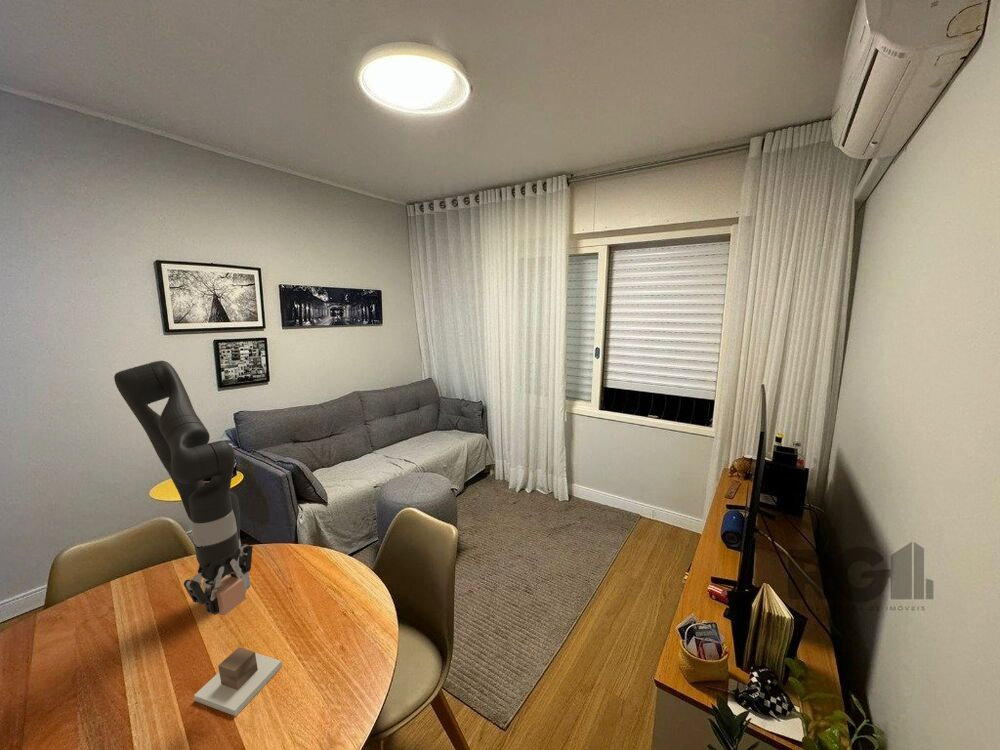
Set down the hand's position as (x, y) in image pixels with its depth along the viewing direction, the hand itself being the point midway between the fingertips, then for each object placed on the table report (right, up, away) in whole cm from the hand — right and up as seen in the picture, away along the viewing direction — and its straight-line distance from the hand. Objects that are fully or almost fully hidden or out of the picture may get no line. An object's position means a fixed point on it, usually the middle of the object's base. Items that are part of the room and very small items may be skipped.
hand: (226, 603), depth 85 cm
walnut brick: (0, -19, +4) cm, 20 cm away
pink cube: (0, 0, 0) cm, 0 cm away
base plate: (+1, -21, +4) cm, 21 cm away
